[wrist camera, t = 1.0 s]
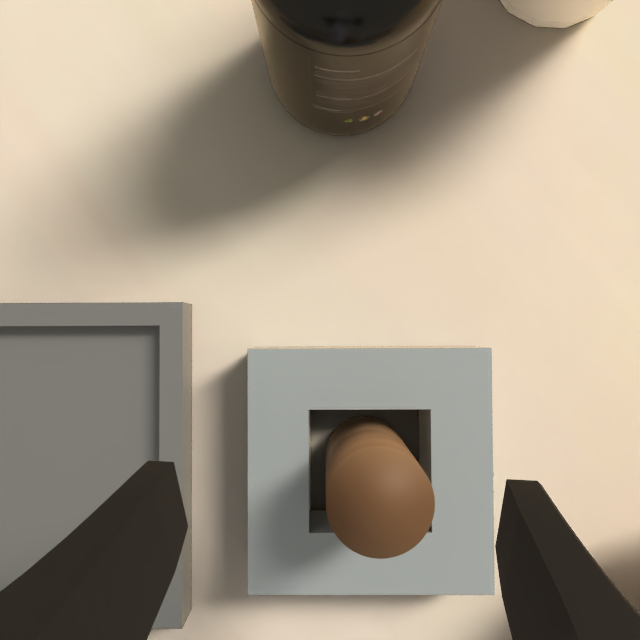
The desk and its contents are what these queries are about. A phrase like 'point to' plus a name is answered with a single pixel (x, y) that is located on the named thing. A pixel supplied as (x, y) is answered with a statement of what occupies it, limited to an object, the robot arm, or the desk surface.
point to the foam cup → (554, 11)
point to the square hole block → (434, 458)
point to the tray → (90, 421)
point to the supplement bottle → (343, 57)
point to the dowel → (376, 490)
